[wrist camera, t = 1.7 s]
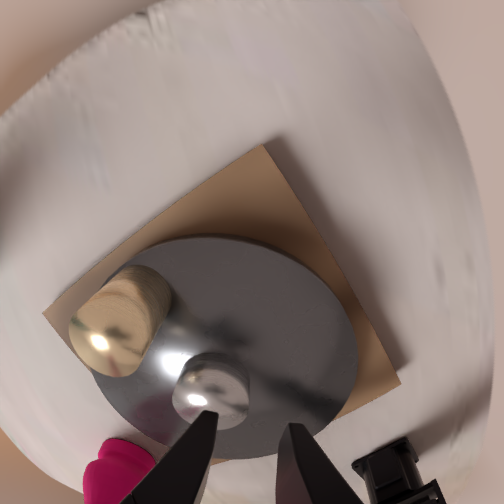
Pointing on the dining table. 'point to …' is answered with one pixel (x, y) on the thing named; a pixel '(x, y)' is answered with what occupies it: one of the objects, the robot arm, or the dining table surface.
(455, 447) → the dining table surface
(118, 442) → the pepper mill
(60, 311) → the wheel mount
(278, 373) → the handwheel
